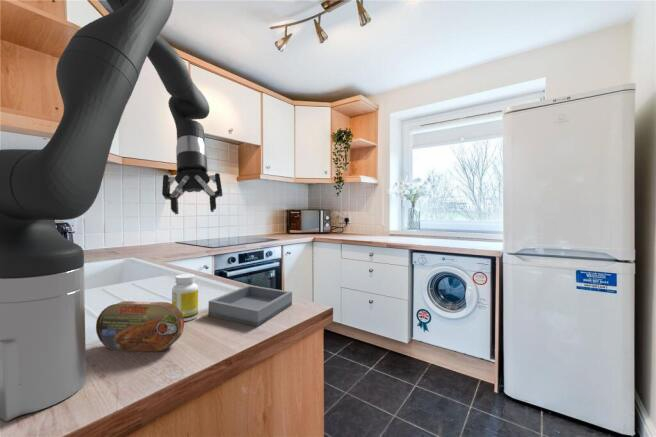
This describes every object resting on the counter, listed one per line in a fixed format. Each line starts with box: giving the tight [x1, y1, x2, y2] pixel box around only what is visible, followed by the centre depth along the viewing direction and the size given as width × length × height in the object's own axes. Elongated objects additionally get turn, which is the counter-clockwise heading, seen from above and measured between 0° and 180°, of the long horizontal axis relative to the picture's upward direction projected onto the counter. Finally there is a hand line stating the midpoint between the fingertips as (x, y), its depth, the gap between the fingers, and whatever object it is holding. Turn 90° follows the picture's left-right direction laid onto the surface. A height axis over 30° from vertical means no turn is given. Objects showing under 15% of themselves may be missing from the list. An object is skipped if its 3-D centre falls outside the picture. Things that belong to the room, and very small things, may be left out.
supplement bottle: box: [171, 273, 199, 322], centre depth 66 cm, size 5×5×10 cm
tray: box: [207, 284, 293, 328], centre depth 71 cm, size 15×14×4 cm
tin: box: [95, 300, 185, 353], centre depth 52 cm, size 15×3×8 cm, turn 89°
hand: (194, 212), depth 74 cm, fingers open, 8 cm apart
